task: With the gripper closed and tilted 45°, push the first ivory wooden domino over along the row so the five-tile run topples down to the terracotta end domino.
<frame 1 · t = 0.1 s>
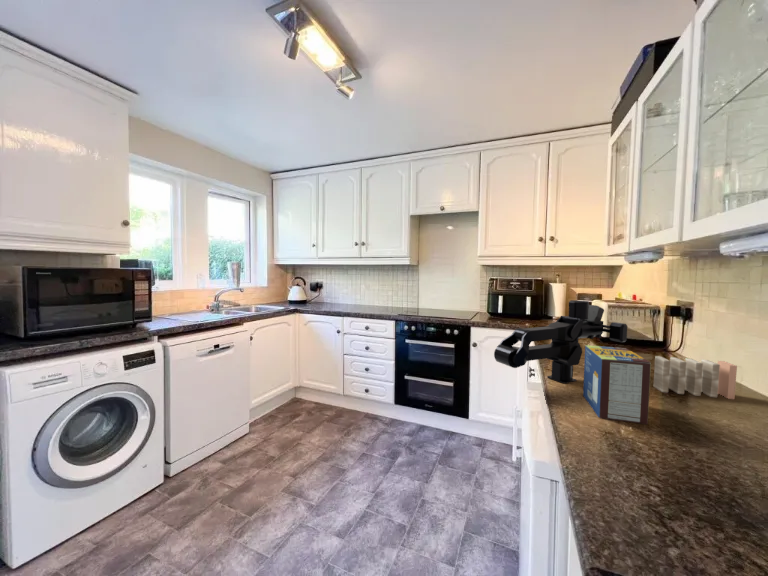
hand: (611, 327, 117), 17 cm above the countertop, tool horizontal, fingers open, 9 cm apart
protein box: (611, 409, 85), on the countertop
domino 5: (724, 395, 95), on the countertop
domino 2: (676, 390, 99), on the countertop
domino 1: (660, 389, 100), on the countertop
domino 3: (691, 392, 97), on the countertop
domino 4: (708, 394, 96), on the countertop
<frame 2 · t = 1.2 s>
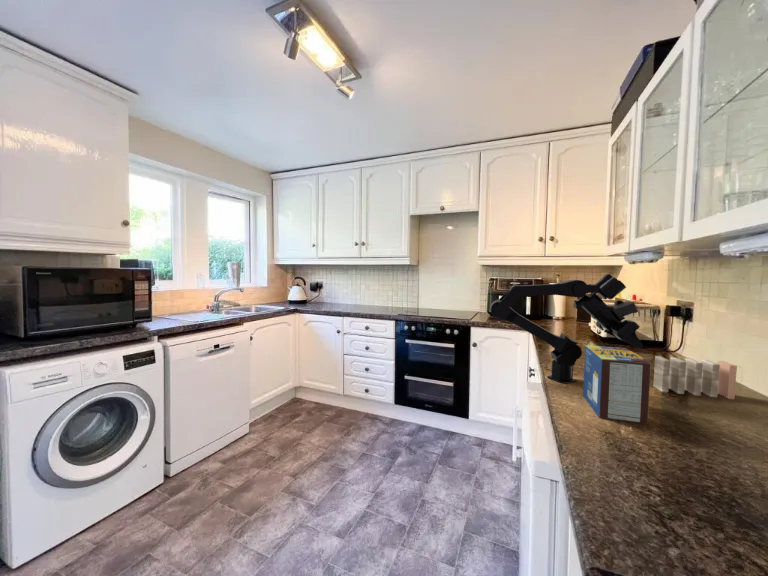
hand: (636, 345, 101), 14 cm above the countertop, tool tilted 45°, fingers open, 7 cm apart
nothing on the countertop moved.
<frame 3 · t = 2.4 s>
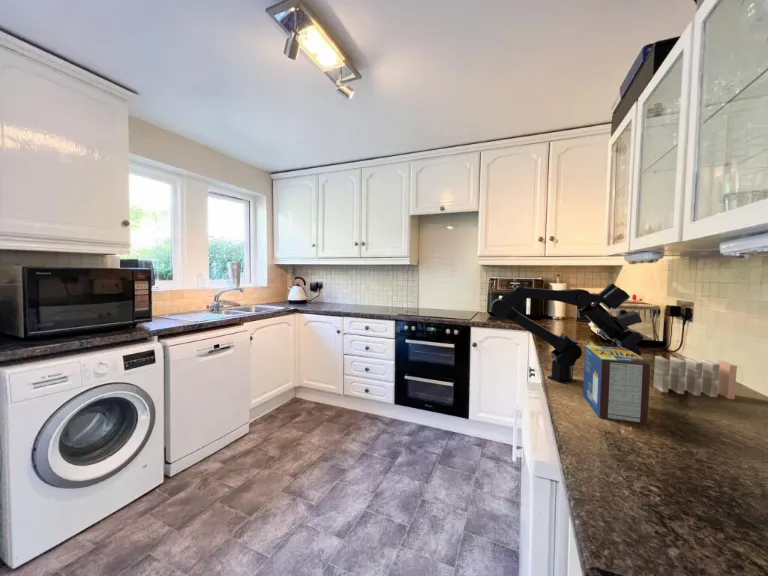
hand: (639, 355, 101), 10 cm above the countertop, tool tilted 45°, fingers closed
nothing on the countertop moved.
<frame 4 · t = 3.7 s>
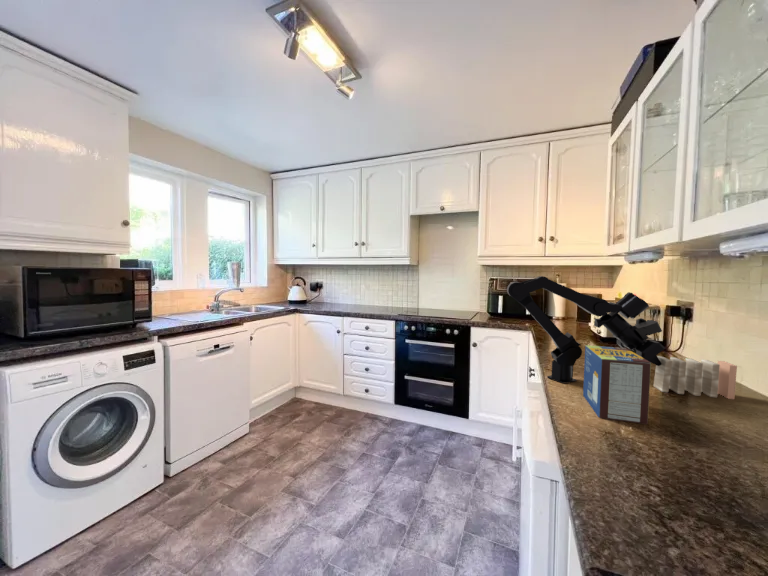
hand: (659, 364, 99), 8 cm above the countertop, tool tilted 45°, fingers closed, pressing on domino 1
domino 1: (660, 389, 100), on the countertop, touching gripper
everything else where it was.
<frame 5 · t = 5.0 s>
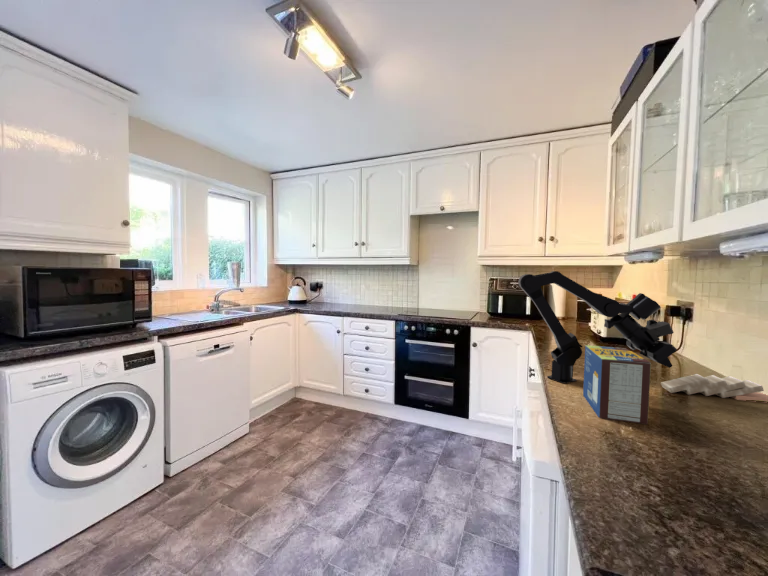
hand: (670, 366, 99), 8 cm above the countertop, tool tilted 45°, fingers closed
domino 5: (729, 395, 95), on the countertop, tilted 90°, touching domino 4
domino 2: (682, 389, 98), point 1 cm above the countertop, tilted 67°, touching domino 1, domino 3
domino 1: (665, 387, 99), point 1 cm above the countertop, tilted 67°, touching domino 2
domino 3: (699, 390, 97), point 1 cm above the countertop, tilted 67°, touching domino 2, domino 4
domino 4: (715, 392, 96), point 1 cm above the countertop, tilted 71°, touching domino 3, domino 5
everything else where it was.
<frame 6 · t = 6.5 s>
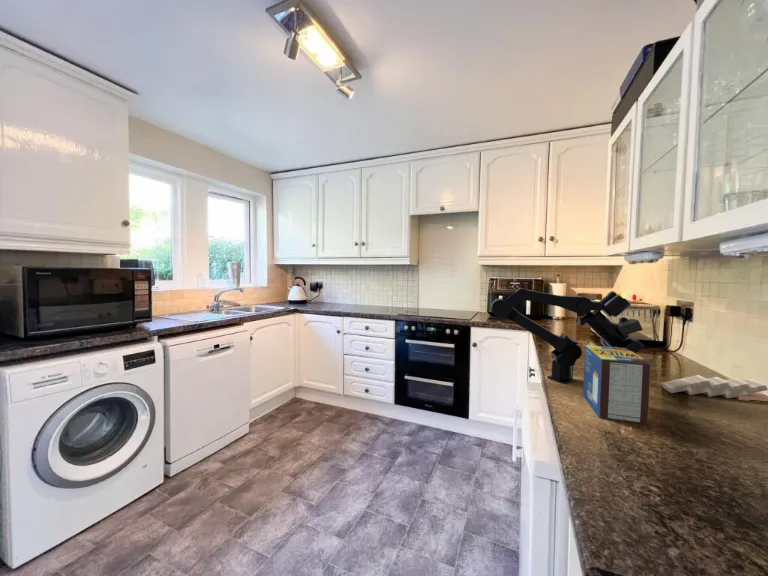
hand: (640, 363, 101), 8 cm above the countertop, tool tilted 45°, fingers closed
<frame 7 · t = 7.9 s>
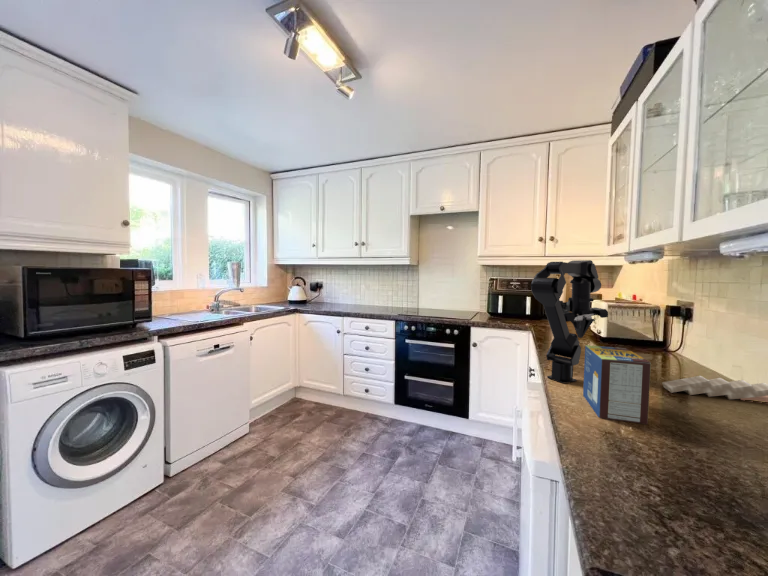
hand: (580, 337, 115), 13 cm above the countertop, tool pointing down, fingers closed
domino 4: (724, 393, 95), point 1 cm above the countertop, tilted 70°, touching domino 3, domino 5
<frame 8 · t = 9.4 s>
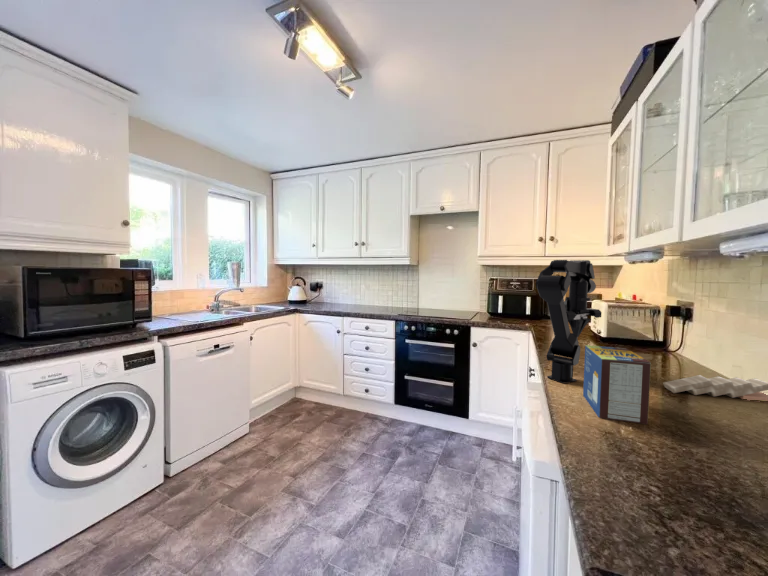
hand: (576, 337, 115), 13 cm above the countertop, tool pointing down, fingers closed
domino 2: (688, 389, 98), point 1 cm above the countertop, tilted 69°, touching domino 3
domino 1: (668, 387, 99), point 1 cm above the countertop, tilted 69°
domino 3: (706, 391, 96), point 1 cm above the countertop, tilted 69°, touching domino 2, domino 4
domino 4: (724, 392, 96), point 1 cm above the countertop, tilted 69°, touching domino 3, domino 5
at the end: domino 5 tilted 90°; domino 3 tilted 68° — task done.
